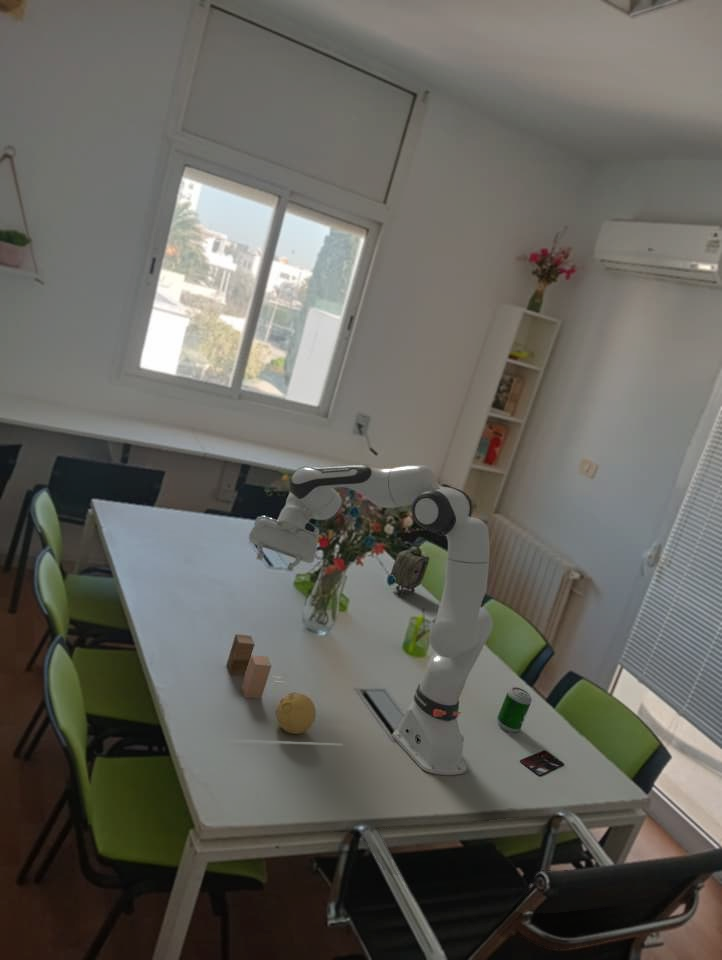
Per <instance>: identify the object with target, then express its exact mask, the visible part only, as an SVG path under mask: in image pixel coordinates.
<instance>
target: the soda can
mask: <svg viewBox="0 0 722 960" xmlns="http://www.w3.org/2000/svg"><path fill="white" fill-rule="evenodd" d="M532 701H533V700H532V697H531V694H530V693H529V692H528V691H527V690H525V689H523V688H521V687H517V686H513V687H511V688H509V689H508V690H507V693H506V695H505V697H504V699H503V703H502V705H501V708H500V709H499V713H498V715H497V718H496V721H497V722H498V723H497V724H498V725H499V727H500V728H501V729H503V730H504V731H507V732H508V733H509V732H510V733H516V732H519V731H520V730H521V728H522V725H523V723H524V721H525V718H526V716H527V714H528V711H529V709H530V705H531V703H532Z"/></svg>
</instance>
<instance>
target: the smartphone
mask: <svg viewBox="0 0 722 960" xmlns="http://www.w3.org/2000/svg"><path fill="white" fill-rule="evenodd" d="M519 764H521V765H523V766H524V767H525V768H526V769H528V771H531V773H533V774H535V775H536V776H537V777H542V776H544V775H546V774H548V773H551V772H553V771H555V770H557V769H559V768H561V767H564V766H565V763H564V762H563V761H562V760H560V759H559V758H557V757H556V756H554V754H552V753H550V752H549V751H547V750H545V749H543V750H541V751H538V752H536V753H534V754H532V755H528V756H525V757H524V758H521V759H520V760H519Z"/></svg>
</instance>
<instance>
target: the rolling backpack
mask: <svg viewBox="0 0 722 960" xmlns="http://www.w3.org/2000/svg"><path fill="white" fill-rule="evenodd" d="M419 540H421V543H417V542H418V541H419ZM423 543H424V537H418V538H417V539H416V540H415V543H414V546H412V547H411V548H409V549H406V550H403V551H400V552H398V553H397V555H396V557H395V560H394V562H393V565H392V569H391V572H390V575H393V576H394V577H395V578H396V582H395V584H397V586H396V587H395V589H396V590H400V592H399V597H403V596H404V593H403V592H404V589H406V590H409V591H410V592H412V593H415V588H417V587H419V586H420V585H421V583H422V582H423V581H422V580H423V579H424V577H425V574H426V571H427V568H428V565H429V561H430V557H429V556H427V555H425V554H423V553H422V549H421V548H420V547H421V546H422V545H423Z"/></svg>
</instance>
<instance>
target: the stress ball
mask: <svg viewBox="0 0 722 960" xmlns="http://www.w3.org/2000/svg"><path fill="white" fill-rule="evenodd" d="M275 714H276V720H277V723H278V725H279V726H280V728H282V730H284V731H285V732H287V733H289V734H293V735H294V734H295V735H299V734H302V733H305V732H306V731H308V730H310V728H311V727H312V726H313V724H314V722H315V719H316V706H315V704H314V702H313V701H312V699H311V698H310V697H309V696H307V695H306V694H303V693H300V692H291V693H288V695H286V696H285V697H282V699H280V701H279V704H278V705H277V707H276V711H275Z"/></svg>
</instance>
